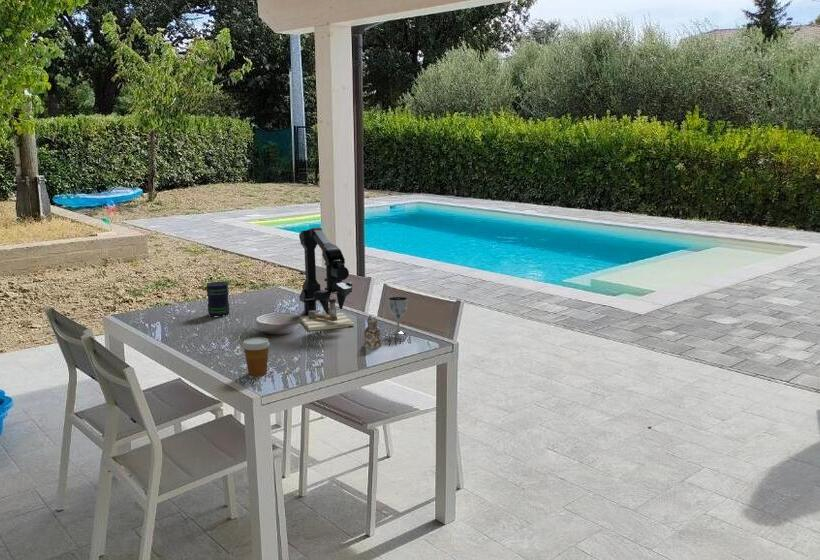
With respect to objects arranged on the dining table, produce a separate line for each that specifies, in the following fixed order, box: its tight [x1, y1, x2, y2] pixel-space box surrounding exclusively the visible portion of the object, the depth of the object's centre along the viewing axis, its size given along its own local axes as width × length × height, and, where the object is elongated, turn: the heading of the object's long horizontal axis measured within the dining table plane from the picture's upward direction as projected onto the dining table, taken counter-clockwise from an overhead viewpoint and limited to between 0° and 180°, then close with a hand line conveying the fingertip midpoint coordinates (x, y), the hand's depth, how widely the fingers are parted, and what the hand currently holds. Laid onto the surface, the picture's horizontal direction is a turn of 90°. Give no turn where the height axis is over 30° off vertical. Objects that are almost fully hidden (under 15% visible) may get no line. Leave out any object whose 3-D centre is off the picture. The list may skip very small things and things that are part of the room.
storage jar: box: [206, 281, 230, 316], centre depth 354 cm, size 10×10×15 cm
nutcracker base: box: [299, 306, 355, 331], centre depth 338 cm, size 20×20×6 cm
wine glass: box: [388, 295, 408, 335], centre depth 320 cm, size 8×8×15 cm
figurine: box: [362, 315, 382, 349], centre depth 301 cm, size 7×7×12 cm
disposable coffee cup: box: [242, 337, 271, 377], centre depth 268 cm, size 10×10×12 cm
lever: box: [308, 298, 337, 321], centre depth 337 cm, size 16×4×10 cm, turn 50°
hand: (334, 311), depth 333 cm, fingers open, 9 cm apart
